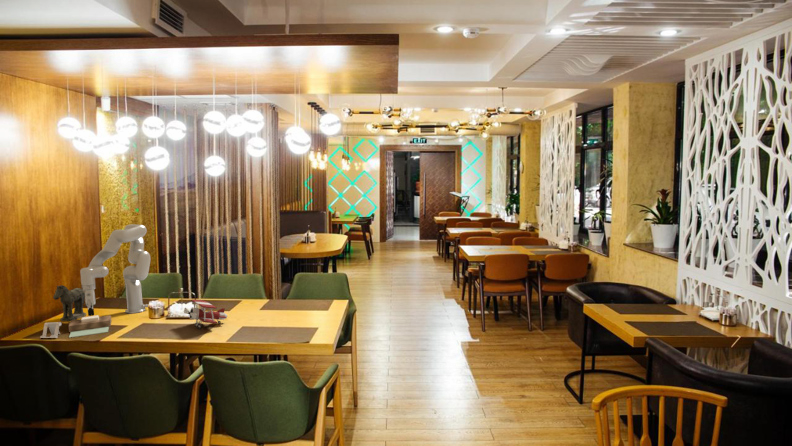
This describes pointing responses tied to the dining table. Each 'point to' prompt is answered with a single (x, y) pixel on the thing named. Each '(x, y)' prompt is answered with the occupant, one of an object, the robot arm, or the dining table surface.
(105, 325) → the deck
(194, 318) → the toy airplane
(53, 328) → the portable electronic device stand
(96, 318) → the cream rectangular block
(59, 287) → the statue
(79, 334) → the mat
